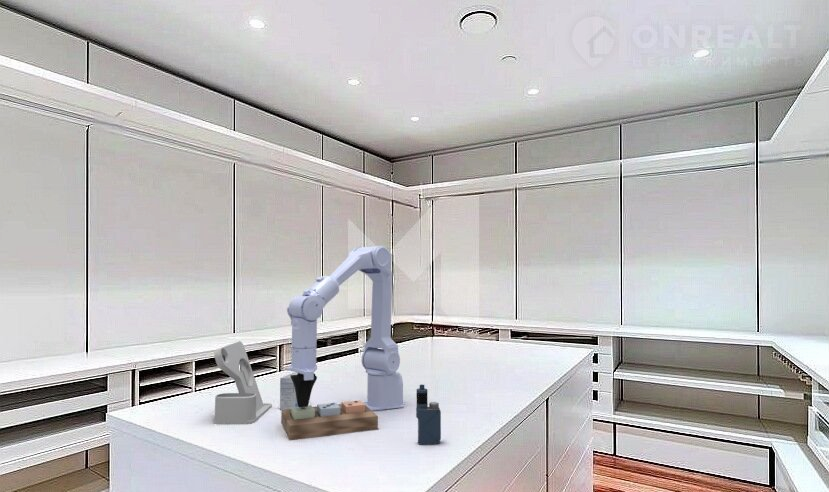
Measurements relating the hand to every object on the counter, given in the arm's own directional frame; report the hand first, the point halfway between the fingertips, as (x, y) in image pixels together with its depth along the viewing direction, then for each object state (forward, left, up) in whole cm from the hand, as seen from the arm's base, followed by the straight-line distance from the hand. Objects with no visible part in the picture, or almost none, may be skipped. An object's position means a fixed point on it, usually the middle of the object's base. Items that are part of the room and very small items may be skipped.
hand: (302, 406), depth 110 cm
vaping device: (-23, +20, -5) cm, 31 cm away
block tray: (-6, 0, -5) cm, 8 cm away
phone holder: (+12, -18, -5) cm, 22 cm away
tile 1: (0, 0, -3) cm, 3 cm away
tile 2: (-12, 0, -3) cm, 12 cm away
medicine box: (-1, -21, -5) cm, 22 cm away
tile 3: (-6, 0, -2) cm, 6 cm away
